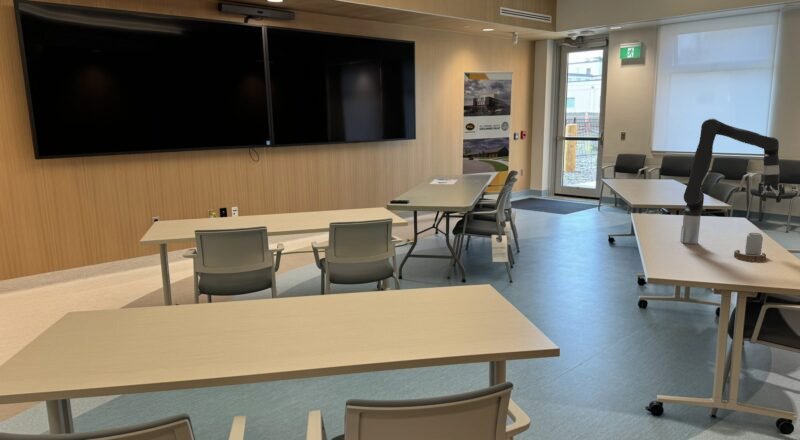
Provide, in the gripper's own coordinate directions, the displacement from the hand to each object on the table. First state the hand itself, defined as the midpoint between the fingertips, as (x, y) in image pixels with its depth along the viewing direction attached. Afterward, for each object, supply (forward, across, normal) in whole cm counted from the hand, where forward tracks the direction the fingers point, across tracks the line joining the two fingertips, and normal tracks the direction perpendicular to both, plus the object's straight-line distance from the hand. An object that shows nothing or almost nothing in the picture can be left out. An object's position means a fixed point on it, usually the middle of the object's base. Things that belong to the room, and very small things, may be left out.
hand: (771, 201), depth 307 cm
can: (+28, +2, -16) cm, 32 cm away
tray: (+27, +8, -25) cm, 38 cm away
